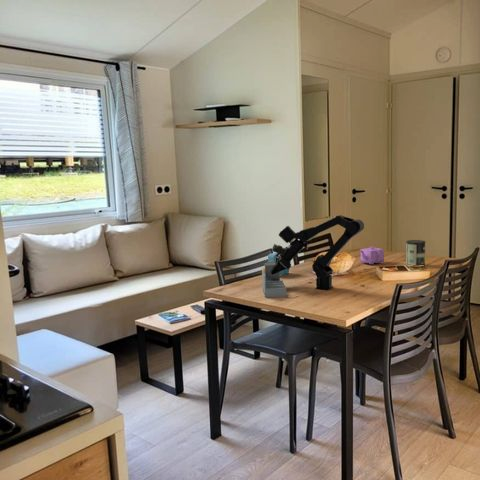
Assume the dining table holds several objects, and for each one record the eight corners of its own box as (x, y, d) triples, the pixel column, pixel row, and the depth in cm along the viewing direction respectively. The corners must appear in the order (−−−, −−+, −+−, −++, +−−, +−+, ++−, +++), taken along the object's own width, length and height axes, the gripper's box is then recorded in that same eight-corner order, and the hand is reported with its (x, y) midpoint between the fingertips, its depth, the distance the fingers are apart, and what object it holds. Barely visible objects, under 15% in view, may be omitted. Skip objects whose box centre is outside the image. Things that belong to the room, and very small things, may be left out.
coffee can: (424, 264, 295) (425, 239, 293) (425, 267, 286) (425, 242, 284) (405, 263, 298) (406, 239, 296) (405, 267, 289) (406, 242, 287)
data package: (274, 277, 276) (273, 255, 274) (268, 276, 279) (267, 254, 278) (289, 273, 284) (288, 252, 282) (283, 272, 287) (282, 251, 286)
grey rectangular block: (279, 286, 256) (278, 262, 254) (280, 287, 253) (279, 263, 251) (265, 286, 255) (264, 262, 254) (265, 288, 252) (264, 263, 251)
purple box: (366, 267, 293) (366, 249, 292) (350, 263, 305) (350, 246, 304) (390, 263, 301) (390, 246, 300) (374, 260, 314) (374, 243, 312)
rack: (282, 288, 250) (282, 264, 248) (286, 296, 235) (286, 271, 233) (262, 289, 250) (261, 265, 248) (264, 297, 234) (264, 271, 233)
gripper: (279, 235, 260) (258, 258, 261) (283, 241, 242) (260, 265, 243) (295, 250, 261) (274, 273, 263) (300, 257, 243) (277, 281, 244)
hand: (271, 272), depth 253 cm, fingers open, 5 cm apart
